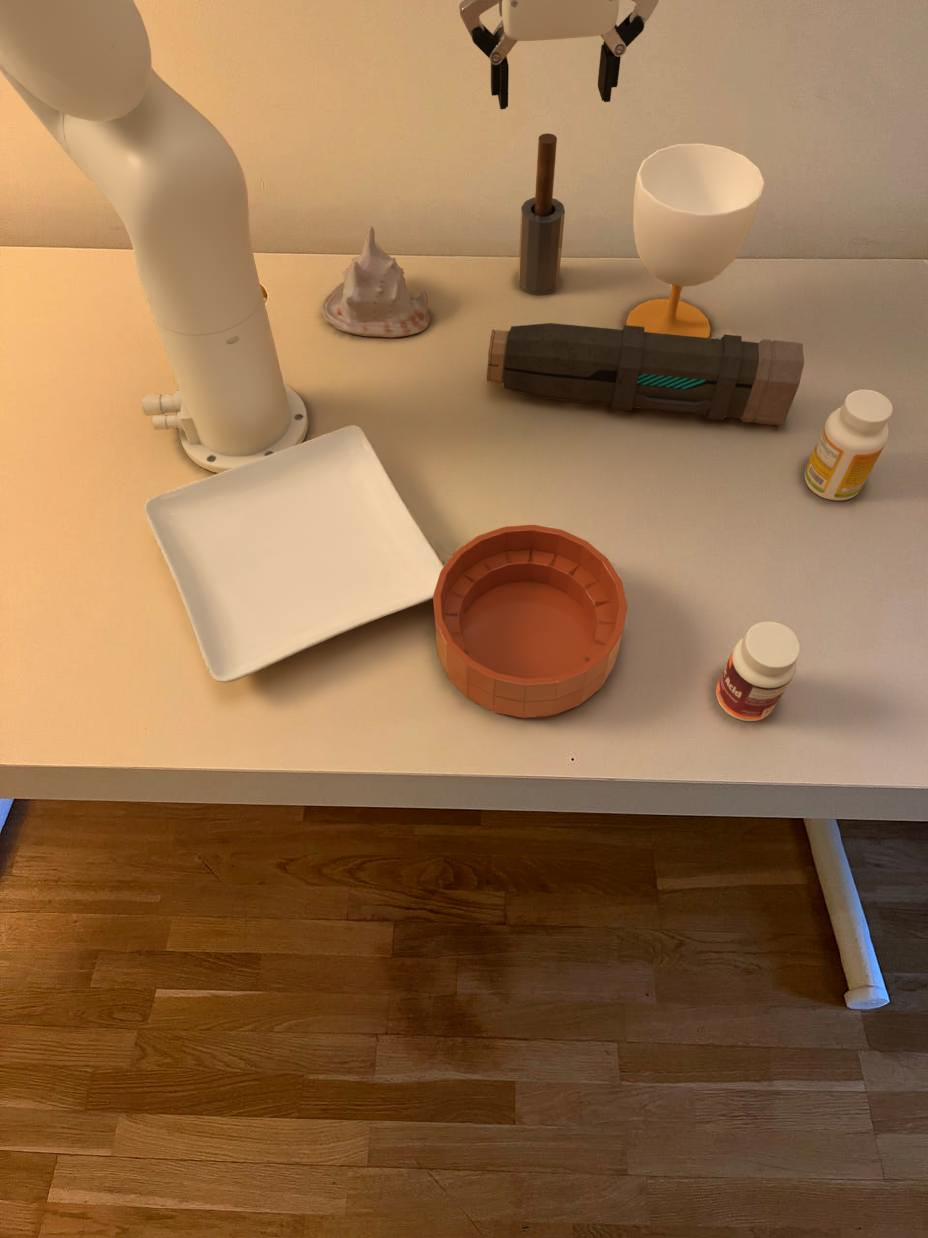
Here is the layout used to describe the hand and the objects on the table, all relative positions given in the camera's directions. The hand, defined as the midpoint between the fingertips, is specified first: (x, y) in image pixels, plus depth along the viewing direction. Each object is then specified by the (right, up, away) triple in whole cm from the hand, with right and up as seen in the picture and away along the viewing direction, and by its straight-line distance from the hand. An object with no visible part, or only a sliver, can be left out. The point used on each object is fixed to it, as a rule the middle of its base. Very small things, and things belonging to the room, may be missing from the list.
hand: (553, 97), depth 85 cm
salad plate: (-23, -44, -4) cm, 50 cm away
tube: (+9, -27, +7) cm, 29 cm away
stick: (0, -11, +16) cm, 20 cm away
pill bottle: (+14, -56, -12) cm, 59 cm away
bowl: (-3, -51, -9) cm, 52 cm away
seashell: (-18, -15, +15) cm, 28 cm away
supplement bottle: (+27, -36, +1) cm, 45 cm away
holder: (0, -11, +17) cm, 20 cm away
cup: (+14, -18, +13) cm, 26 cm away
